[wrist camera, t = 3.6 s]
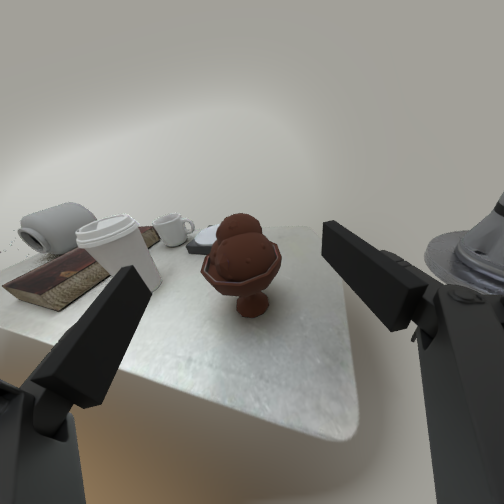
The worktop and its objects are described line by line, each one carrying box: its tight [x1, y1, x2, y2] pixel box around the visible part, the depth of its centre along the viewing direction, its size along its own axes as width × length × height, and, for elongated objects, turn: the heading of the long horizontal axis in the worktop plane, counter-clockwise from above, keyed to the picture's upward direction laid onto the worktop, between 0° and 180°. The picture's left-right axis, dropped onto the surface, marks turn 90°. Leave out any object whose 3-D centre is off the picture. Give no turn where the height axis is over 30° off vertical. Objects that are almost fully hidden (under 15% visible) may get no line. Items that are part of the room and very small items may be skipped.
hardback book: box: [2, 226, 161, 311], centre depth 49 cm, size 29×19×5 cm, turn 161°
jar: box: [0, 202, 97, 257], centre depth 61 cm, size 19×15×25 cm
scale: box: [186, 224, 220, 255], centre depth 49 cm, size 12×12×3 cm
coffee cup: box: [75, 214, 162, 292], centre depth 34 cm, size 10×10×15 cm
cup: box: [152, 213, 195, 247], centre depth 52 cm, size 11×8×8 cm
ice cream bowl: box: [201, 213, 282, 318], centre depth 25 cm, size 11×11×15 cm
